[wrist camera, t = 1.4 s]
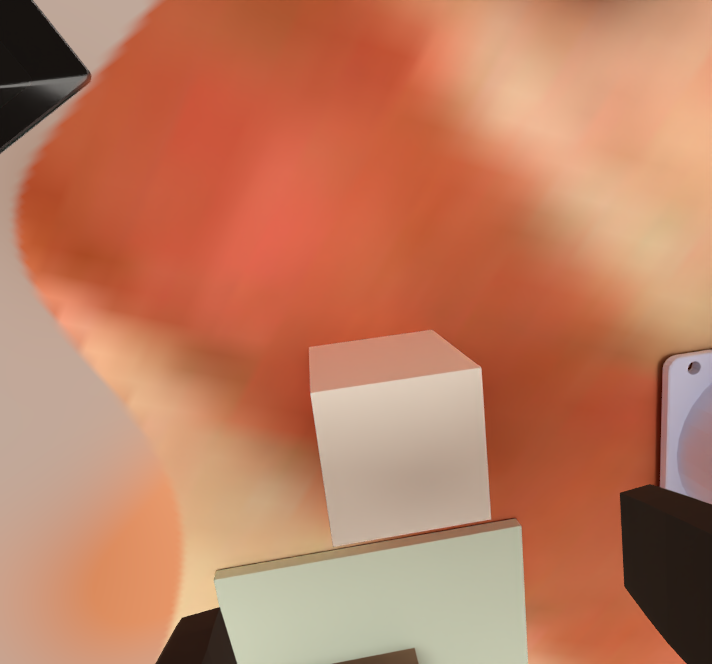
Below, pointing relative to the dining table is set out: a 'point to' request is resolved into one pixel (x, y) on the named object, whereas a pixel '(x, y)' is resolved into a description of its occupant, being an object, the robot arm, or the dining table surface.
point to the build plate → (33, 70)
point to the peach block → (399, 435)
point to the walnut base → (388, 658)
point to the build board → (384, 601)
